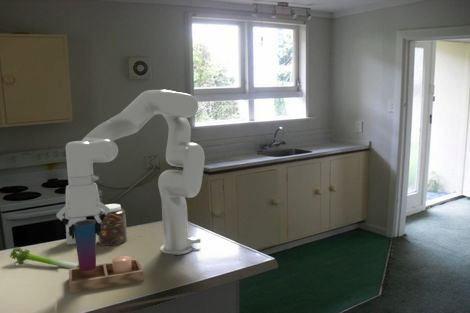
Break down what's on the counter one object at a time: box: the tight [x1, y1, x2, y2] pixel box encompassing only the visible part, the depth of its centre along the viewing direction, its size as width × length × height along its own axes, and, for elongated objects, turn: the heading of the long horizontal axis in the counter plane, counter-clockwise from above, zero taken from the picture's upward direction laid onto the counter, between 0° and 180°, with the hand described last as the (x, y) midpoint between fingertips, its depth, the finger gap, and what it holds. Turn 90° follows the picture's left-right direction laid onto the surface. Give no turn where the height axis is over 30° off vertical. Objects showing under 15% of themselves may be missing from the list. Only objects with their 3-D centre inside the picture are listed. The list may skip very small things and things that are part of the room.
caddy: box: [68, 258, 144, 294], centre depth 142 cm, size 22×12×4 cm, turn 111°
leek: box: [9, 246, 79, 269], centre depth 158 cm, size 6×7×30 cm
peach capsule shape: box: [112, 255, 132, 275], centre depth 143 cm, size 6×6×6 cm
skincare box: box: [64, 212, 87, 246], centre depth 182 cm, size 8×6×15 cm
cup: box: [73, 219, 97, 271], centre depth 138 cm, size 7×7×15 cm
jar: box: [97, 203, 128, 247], centre depth 182 cm, size 12×12×15 cm
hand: (85, 235), depth 138 cm, fingers closed on cup, 6 cm apart
